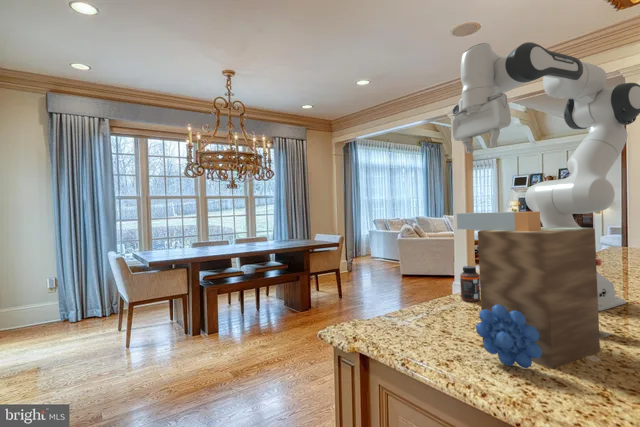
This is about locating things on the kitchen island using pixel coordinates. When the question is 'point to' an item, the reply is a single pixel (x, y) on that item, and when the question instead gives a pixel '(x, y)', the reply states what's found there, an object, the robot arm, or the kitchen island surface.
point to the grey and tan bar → (500, 221)
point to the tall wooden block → (545, 286)
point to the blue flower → (508, 336)
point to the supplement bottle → (470, 284)
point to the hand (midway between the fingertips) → (480, 150)
